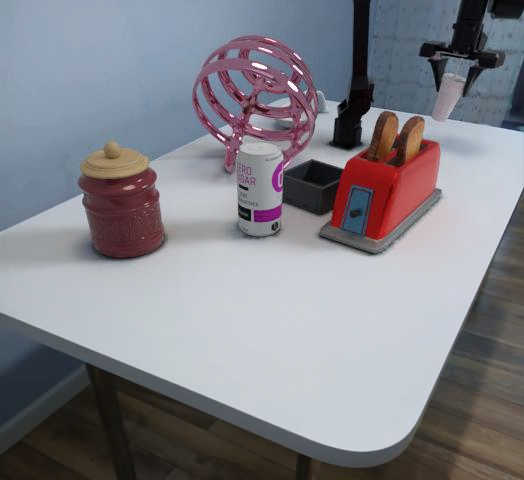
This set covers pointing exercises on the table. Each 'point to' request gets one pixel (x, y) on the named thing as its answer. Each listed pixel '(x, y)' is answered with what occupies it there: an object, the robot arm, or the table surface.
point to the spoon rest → (289, 122)
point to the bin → (311, 186)
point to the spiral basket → (250, 103)
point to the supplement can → (259, 187)
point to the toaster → (385, 186)
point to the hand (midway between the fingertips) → (451, 94)
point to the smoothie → (448, 94)
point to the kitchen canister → (121, 202)
